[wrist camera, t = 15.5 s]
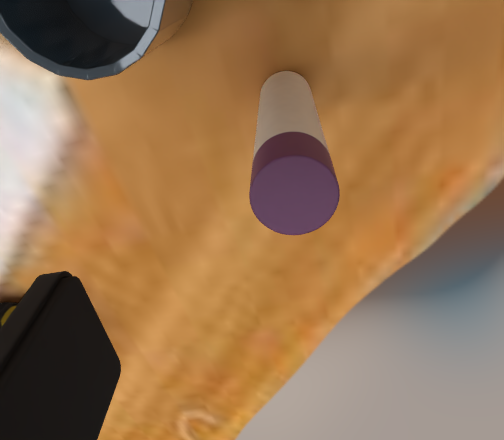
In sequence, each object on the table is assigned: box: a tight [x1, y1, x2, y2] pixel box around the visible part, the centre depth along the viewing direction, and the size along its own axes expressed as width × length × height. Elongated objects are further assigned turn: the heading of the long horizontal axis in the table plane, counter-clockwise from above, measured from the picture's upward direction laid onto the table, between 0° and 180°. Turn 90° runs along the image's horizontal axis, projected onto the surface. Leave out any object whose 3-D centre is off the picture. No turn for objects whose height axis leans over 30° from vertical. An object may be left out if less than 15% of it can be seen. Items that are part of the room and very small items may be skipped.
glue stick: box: [250, 71, 339, 235], centre depth 21 cm, size 3×3×13 cm
